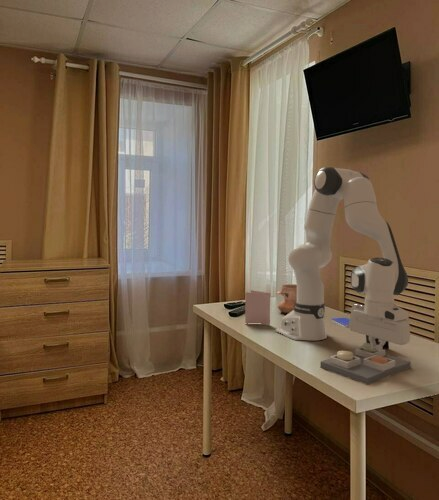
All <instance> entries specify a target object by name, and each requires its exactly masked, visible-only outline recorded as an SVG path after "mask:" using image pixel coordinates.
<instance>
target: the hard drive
mask: <svg viewBox="0 0 439 500" xmlns="http://www.w3.org/2000/svg"><path fill="white" fill-rule="evenodd" d="M331 320H332V321H331ZM330 321H331V322H333V321H334V322H333V323H335V322H336V323H335V324H337V323H338V325H339V324H340V326H342V327H344V328H349V321H350V318H347V317H335V318H334V317H333V318H331V319H330Z"/></svg>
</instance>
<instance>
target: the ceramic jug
mask: <svg viewBox="0 0 439 500" xmlns="http://www.w3.org/2000/svg"><path fill="white" fill-rule="evenodd" d="M280 288H281V291H277V292H276V294H277V295H281V296H283V298H284V299H283V300H282V301H281V302H279V303H278V305H277V309H279V311H280V312H282V313H283V314H286V313H287V314H289V313H290V312H291V311H293V309H294V306H292V305H294V304H292V303H296V302H297V284H296V283H295V284H294V283H293V284H292V283H289V284H282V285H280ZM287 314H286V315H287Z"/></svg>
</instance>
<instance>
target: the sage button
mask: <svg viewBox="0 0 439 500" xmlns="http://www.w3.org/2000/svg"><path fill="white" fill-rule="evenodd" d="M362 347H363V351H367V352H370V353H375V352H377V351H374V350H371V343H365V342H364V343H363V344H362Z"/></svg>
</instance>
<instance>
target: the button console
mask: <svg viewBox="0 0 439 500" xmlns="http://www.w3.org/2000/svg"><path fill="white" fill-rule="evenodd" d="M351 352H352V353H353V360H351V361H348V362H346V361H343V360H340V359H337V354H334V355H331V356H329V358H328V359H324V360H321V361H320V364H319V365H320V367H319V368H321V369H324V370H327V371H330V372H332V373H335V374H337V375H339V376H340V375H341V376H343V377H345V378H349V379H351V380H354V381H357V382H359V383H361V384H365V385H367V386H368V385H370V384H373V383H375V382H377V381H381V380H383V379H385V378H388V377H390V376H393V375H396V374H398V373H400V372H403V371H405V370H409V369H411V366H412V365H411V363H412V362H411V361H409V360H407V359H402V358H399V357H396V356H392V355H388V354H386V350H385V349H383V348H382V352H375V353H370V352H367V351H363V346H360V347H358V348H355V350H354V351H351ZM374 356H379V357H384V358H386V359H387V360H388V362H387V363H384V364H380V363H376V362H373V361H371V357H374Z"/></svg>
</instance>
